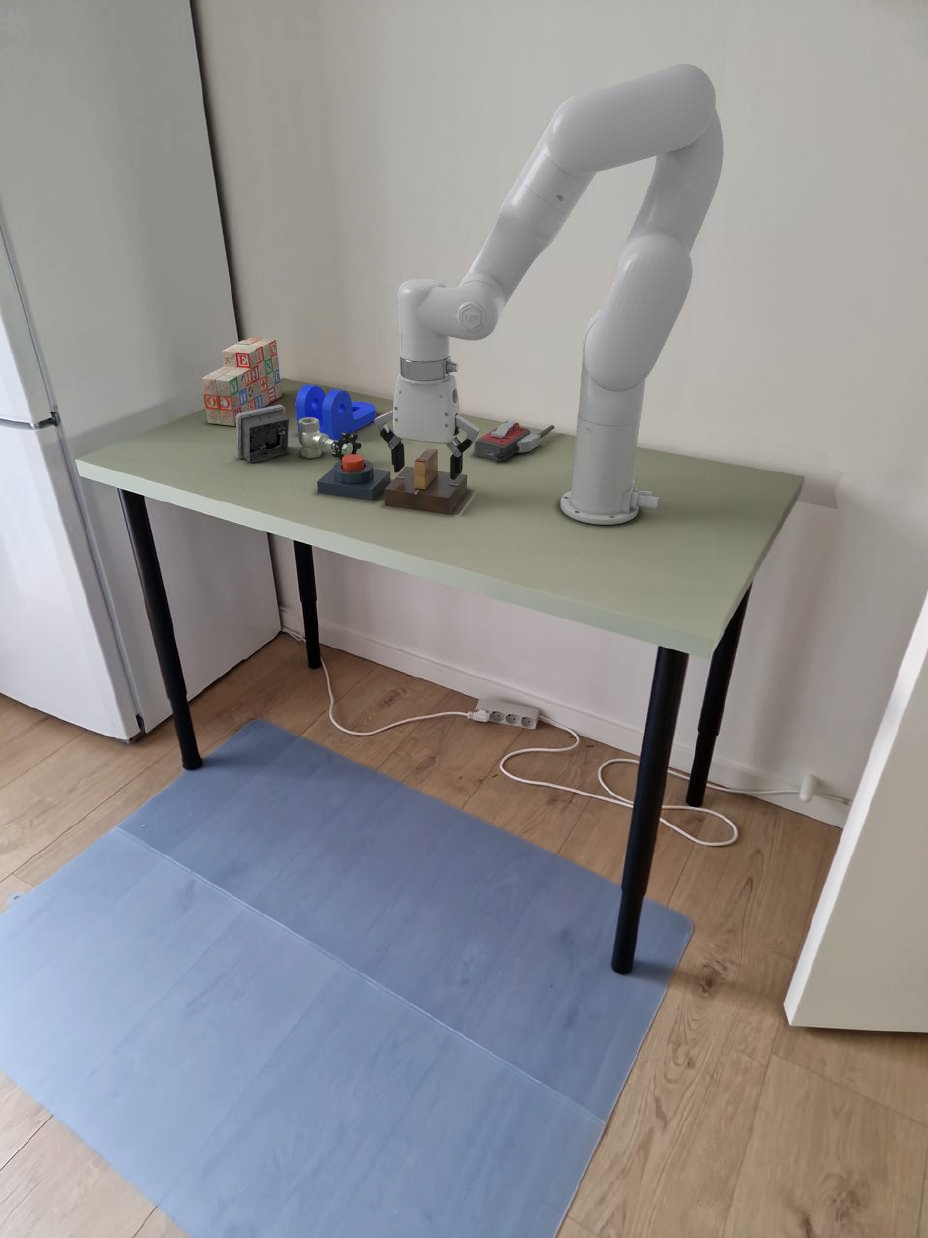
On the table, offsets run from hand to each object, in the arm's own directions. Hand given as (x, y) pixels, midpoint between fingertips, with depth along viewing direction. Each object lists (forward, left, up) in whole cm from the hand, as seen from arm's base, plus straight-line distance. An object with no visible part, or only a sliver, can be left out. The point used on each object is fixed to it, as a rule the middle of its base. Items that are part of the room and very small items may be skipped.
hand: (427, 472), depth 133 cm
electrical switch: (+34, -8, -5) cm, 35 cm away
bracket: (+28, -28, -5) cm, 40 cm away
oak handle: (0, 0, -1) cm, 1 cm away
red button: (+13, 0, -1) cm, 13 cm away
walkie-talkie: (-8, -28, -5) cm, 29 cm away
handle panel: (0, 0, -5) cm, 5 cm away
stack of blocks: (+51, -30, -5) cm, 60 cm away
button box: (+13, 0, -5) cm, 14 cm away
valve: (+23, -10, -5) cm, 26 cm away
